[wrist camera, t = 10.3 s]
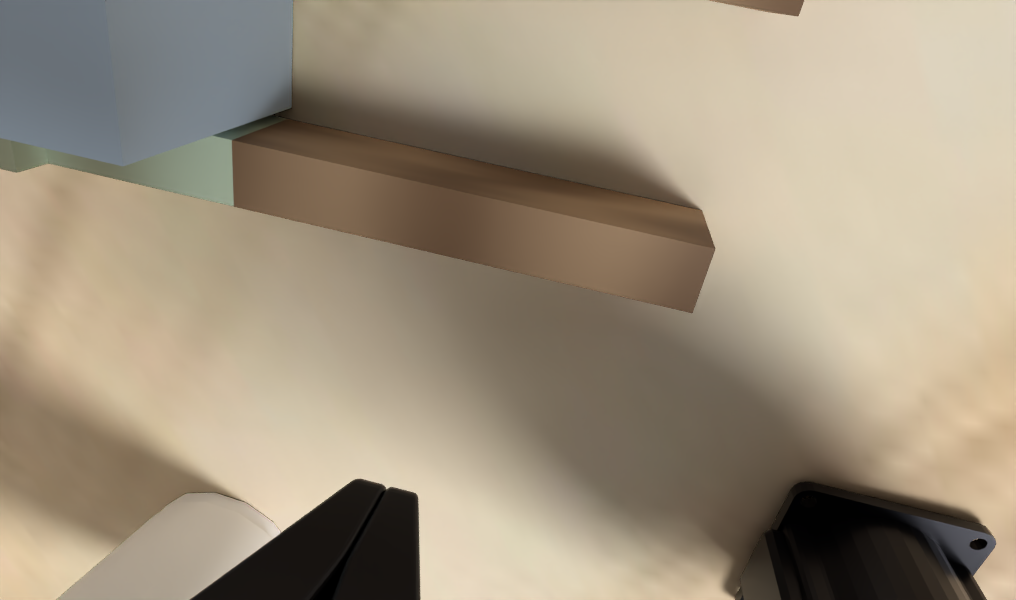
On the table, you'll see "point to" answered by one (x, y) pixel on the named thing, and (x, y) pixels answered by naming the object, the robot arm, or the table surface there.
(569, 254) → the u-shaped frame
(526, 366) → the table surface
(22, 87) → the block
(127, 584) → the foam cup
